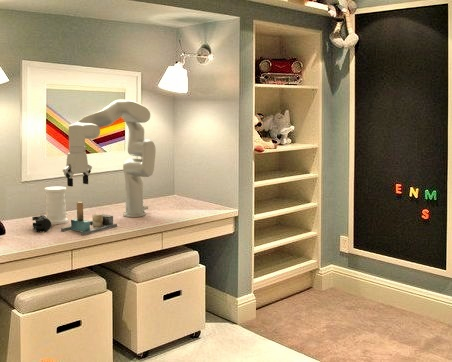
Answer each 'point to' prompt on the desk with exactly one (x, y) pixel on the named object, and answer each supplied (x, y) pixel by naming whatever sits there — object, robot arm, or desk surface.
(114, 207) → the desk surface
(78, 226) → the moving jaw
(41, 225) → the end cap
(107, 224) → the vise frame
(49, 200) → the decorative container
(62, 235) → the desk surface
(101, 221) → the beige cylinder
